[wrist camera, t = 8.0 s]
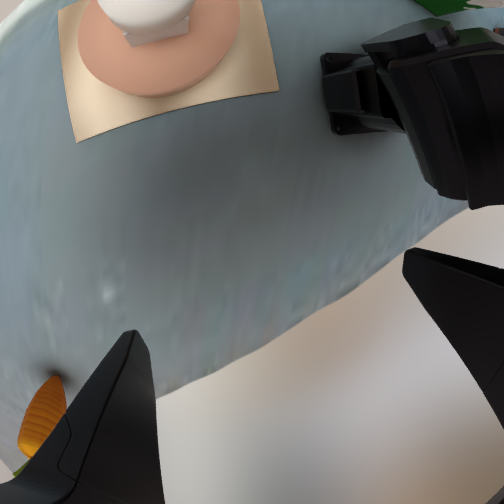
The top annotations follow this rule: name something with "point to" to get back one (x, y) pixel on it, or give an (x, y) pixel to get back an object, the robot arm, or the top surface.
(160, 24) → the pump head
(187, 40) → the soap jar
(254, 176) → the top surface
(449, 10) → the milk carton
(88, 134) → the birch board
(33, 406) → the carrot
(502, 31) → the supplement bottle
